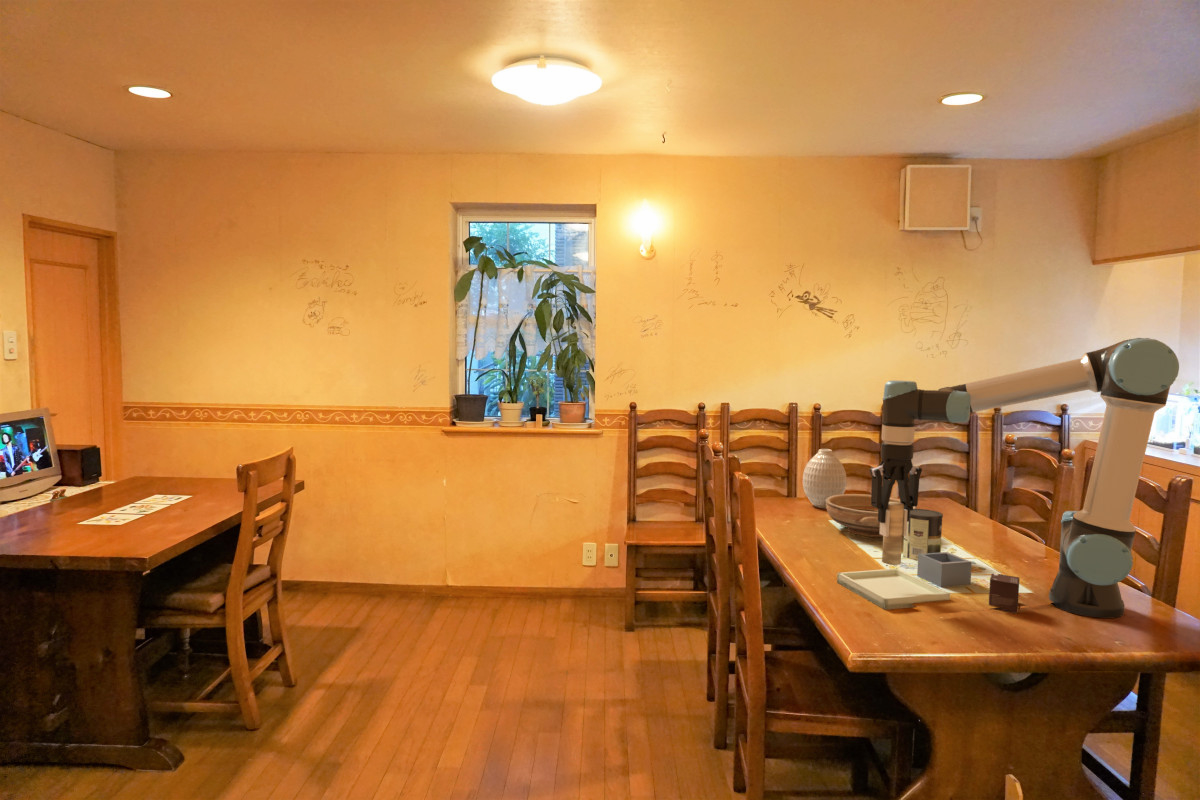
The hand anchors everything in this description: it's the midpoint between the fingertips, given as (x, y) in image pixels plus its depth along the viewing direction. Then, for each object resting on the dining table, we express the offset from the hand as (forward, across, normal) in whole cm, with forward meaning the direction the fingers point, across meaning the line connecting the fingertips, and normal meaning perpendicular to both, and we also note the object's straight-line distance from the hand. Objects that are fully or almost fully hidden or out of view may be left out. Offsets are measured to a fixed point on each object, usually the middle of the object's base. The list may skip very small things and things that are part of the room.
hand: (892, 534), depth 182 cm
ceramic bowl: (+15, -31, -54) cm, 64 cm away
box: (+15, -20, +15) cm, 29 cm away
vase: (+15, -37, -92) cm, 100 cm away
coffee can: (+15, -27, -23) cm, 39 cm away
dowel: (+7, 0, 0) cm, 7 cm away
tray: (+15, 0, 0) cm, 15 cm away
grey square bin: (+15, -18, -3) cm, 24 cm away
